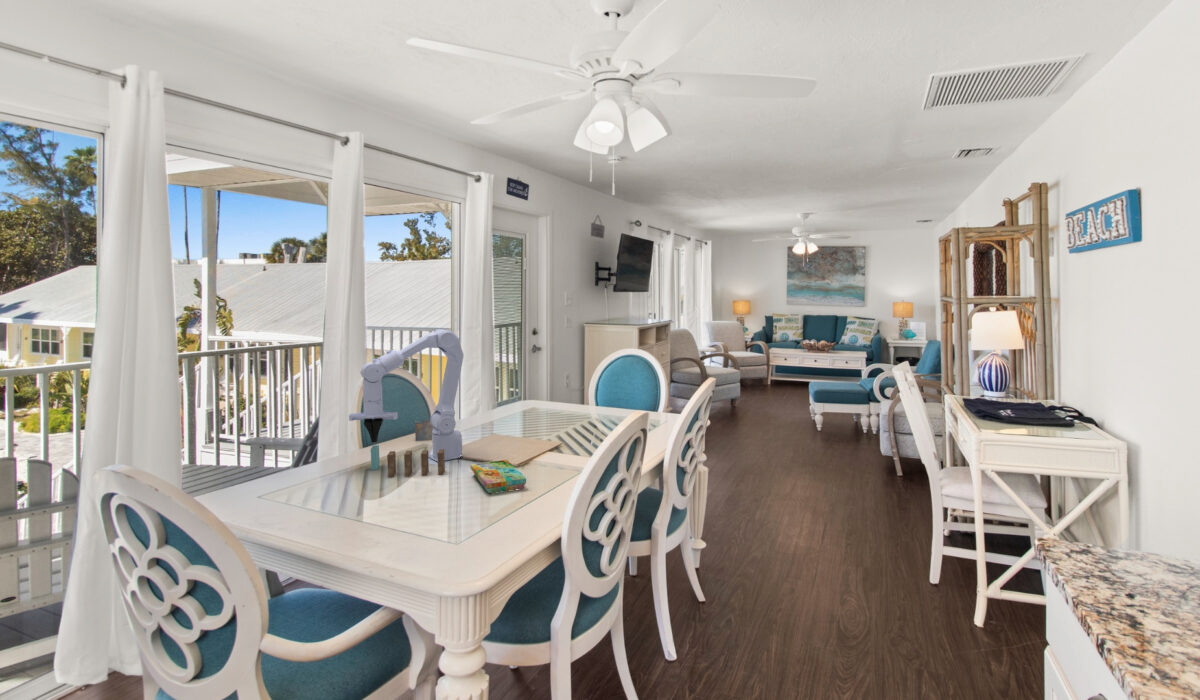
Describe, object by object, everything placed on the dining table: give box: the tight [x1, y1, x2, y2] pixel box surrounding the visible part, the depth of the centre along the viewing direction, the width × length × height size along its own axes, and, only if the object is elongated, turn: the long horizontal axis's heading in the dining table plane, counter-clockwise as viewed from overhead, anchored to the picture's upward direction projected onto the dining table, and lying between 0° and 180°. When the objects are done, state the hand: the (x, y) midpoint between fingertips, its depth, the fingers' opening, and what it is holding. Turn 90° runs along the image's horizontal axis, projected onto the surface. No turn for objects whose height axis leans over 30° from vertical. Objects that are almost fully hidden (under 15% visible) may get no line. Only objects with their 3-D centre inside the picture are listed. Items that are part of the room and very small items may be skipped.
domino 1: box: [370, 444, 381, 471], centre depth 189 cm, size 2×4×7 cm, turn 9°
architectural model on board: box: [414, 419, 434, 442], centre depth 225 cm, size 11×3×10 cm, turn 100°
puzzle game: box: [469, 459, 527, 494], centre depth 176 cm, size 12×5×20 cm
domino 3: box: [403, 449, 413, 478], centre depth 183 cm, size 2×4×7 cm, turn 9°
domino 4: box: [420, 449, 430, 477], centre depth 183 cm, size 2×4×7 cm, turn 9°
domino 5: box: [437, 449, 446, 476], centre depth 184 cm, size 2×4×7 cm, turn 9°
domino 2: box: [386, 450, 397, 478], centre depth 182 cm, size 2×4×7 cm, turn 9°
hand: (374, 441), depth 188 cm, fingers closed
